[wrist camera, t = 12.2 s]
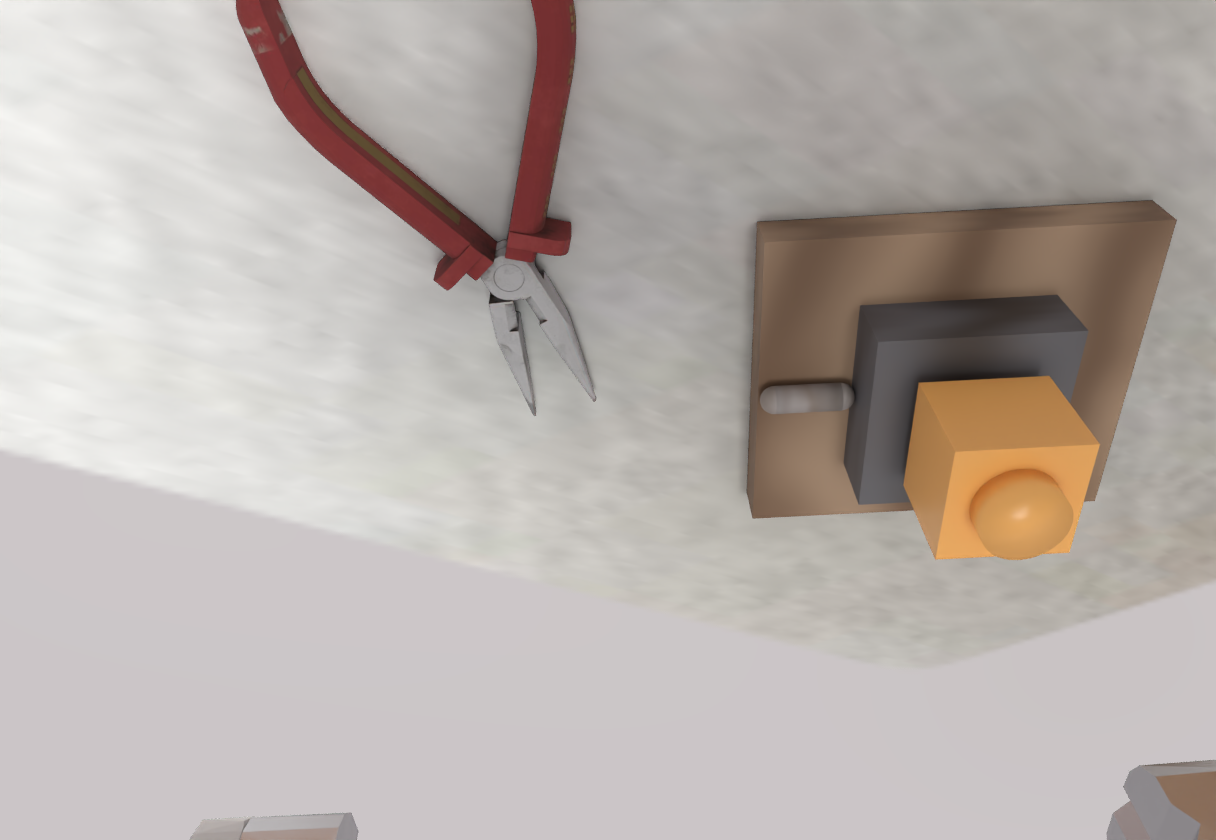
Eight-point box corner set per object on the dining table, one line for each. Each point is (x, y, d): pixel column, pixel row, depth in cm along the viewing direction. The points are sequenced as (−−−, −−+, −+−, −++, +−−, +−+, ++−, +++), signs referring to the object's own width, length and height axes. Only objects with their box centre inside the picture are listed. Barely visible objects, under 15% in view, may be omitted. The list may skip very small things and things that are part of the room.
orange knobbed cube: (1049, 375, 38) (1115, 465, 33) (1024, 478, 41) (1082, 574, 36) (918, 382, 38) (966, 472, 33) (903, 485, 41) (944, 581, 36)
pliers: (448, 424, 46) (442, 457, 44) (231, -20, 35) (209, -5, 33) (686, 358, 44) (692, 389, 42) (536, -129, 34) (533, -121, 31)
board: (1152, 200, 40) (1290, 311, 32) (1077, 474, 48) (1173, 617, 40) (757, 221, 40) (799, 337, 32) (746, 491, 48) (779, 637, 40)
